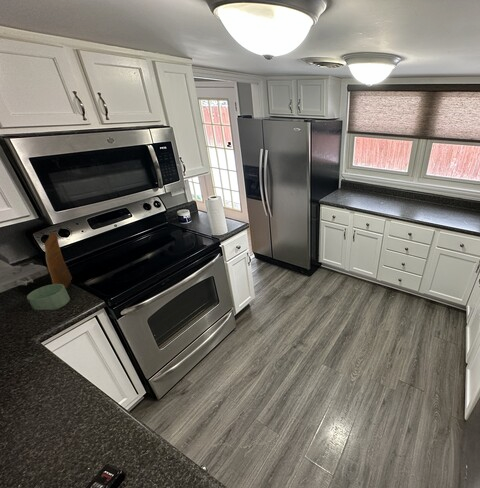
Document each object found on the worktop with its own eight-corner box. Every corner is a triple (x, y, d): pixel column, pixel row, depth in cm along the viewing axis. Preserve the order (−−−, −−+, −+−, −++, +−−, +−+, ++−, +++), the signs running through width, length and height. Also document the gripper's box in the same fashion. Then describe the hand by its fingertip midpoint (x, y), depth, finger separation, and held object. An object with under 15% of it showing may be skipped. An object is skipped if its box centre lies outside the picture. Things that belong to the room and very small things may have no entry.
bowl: (26, 313, 121) (18, 299, 118) (52, 296, 132) (45, 283, 129) (54, 314, 121) (47, 300, 118) (77, 297, 133) (71, 284, 129)
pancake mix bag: (79, 274, 151) (60, 229, 139) (67, 292, 136) (45, 243, 124) (64, 277, 148) (43, 231, 136) (50, 295, 133) (25, 246, 121)
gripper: (-22, 281, 120) (-5, 288, 116) (35, 261, 137) (52, 266, 133) (-15, 293, 123) (2, 300, 119) (40, 271, 140) (57, 277, 136)
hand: (29, 282), depth 126 cm, fingers closed
